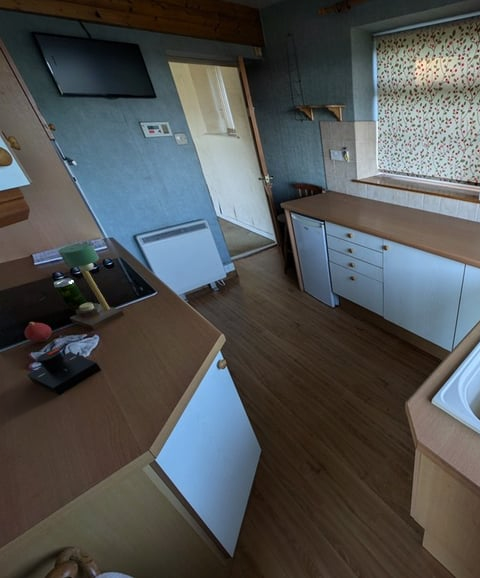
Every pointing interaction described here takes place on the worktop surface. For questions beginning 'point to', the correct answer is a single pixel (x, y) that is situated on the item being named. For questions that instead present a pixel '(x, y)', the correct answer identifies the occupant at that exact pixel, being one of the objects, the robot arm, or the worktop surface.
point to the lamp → (83, 264)
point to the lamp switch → (86, 306)
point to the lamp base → (96, 316)
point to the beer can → (70, 293)
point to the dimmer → (65, 374)
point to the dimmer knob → (53, 360)
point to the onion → (38, 332)
